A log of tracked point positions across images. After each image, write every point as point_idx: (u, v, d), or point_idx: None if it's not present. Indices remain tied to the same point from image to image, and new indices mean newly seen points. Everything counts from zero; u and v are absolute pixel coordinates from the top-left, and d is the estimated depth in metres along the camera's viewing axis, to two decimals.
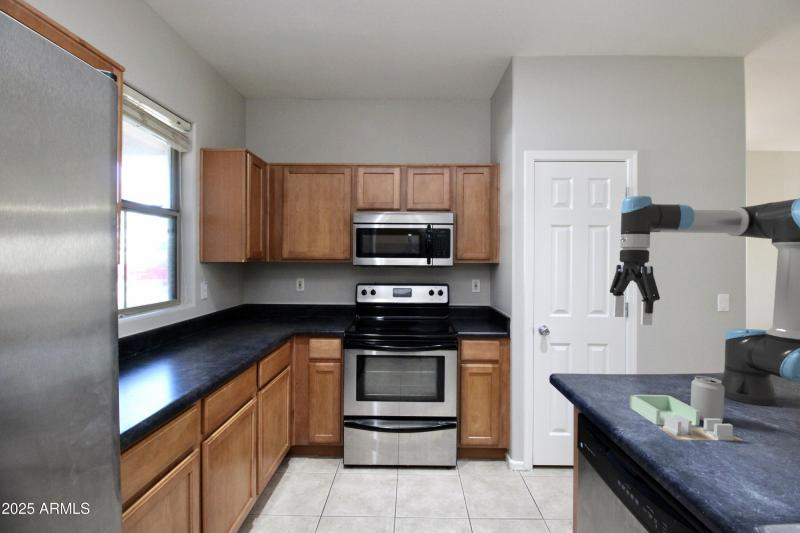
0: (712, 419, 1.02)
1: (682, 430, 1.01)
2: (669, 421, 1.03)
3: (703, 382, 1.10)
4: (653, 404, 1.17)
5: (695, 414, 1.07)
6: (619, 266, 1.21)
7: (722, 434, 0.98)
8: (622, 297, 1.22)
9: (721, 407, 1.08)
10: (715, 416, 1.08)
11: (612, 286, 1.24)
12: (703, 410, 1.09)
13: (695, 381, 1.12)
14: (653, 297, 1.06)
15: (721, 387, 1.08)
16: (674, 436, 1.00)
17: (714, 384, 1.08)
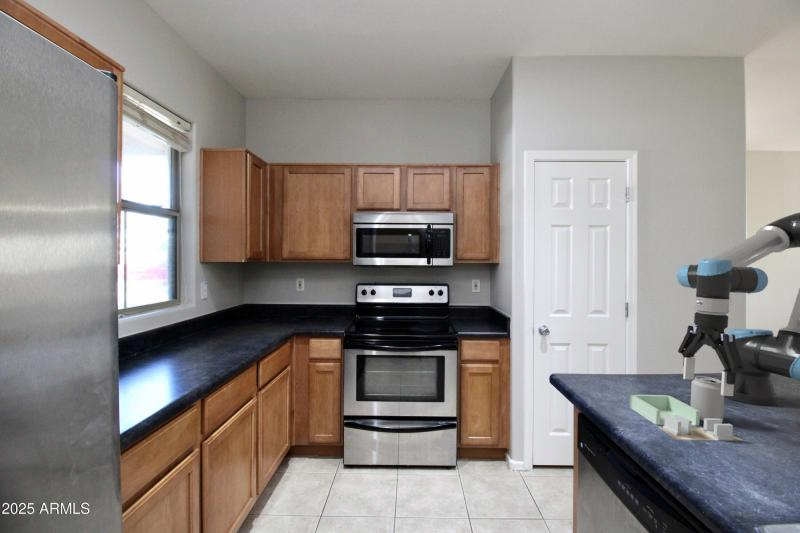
0: (712, 419, 1.02)
1: (682, 430, 1.01)
2: (669, 421, 1.03)
3: (703, 382, 1.10)
4: (653, 404, 1.17)
5: (695, 414, 1.07)
6: (691, 327, 1.16)
7: (722, 434, 0.98)
8: (693, 359, 1.18)
9: (721, 407, 1.08)
10: (715, 416, 1.08)
11: (681, 346, 1.20)
12: (703, 410, 1.09)
13: (695, 381, 1.12)
14: (737, 368, 1.01)
15: None
16: (674, 436, 1.00)
17: (714, 384, 1.08)
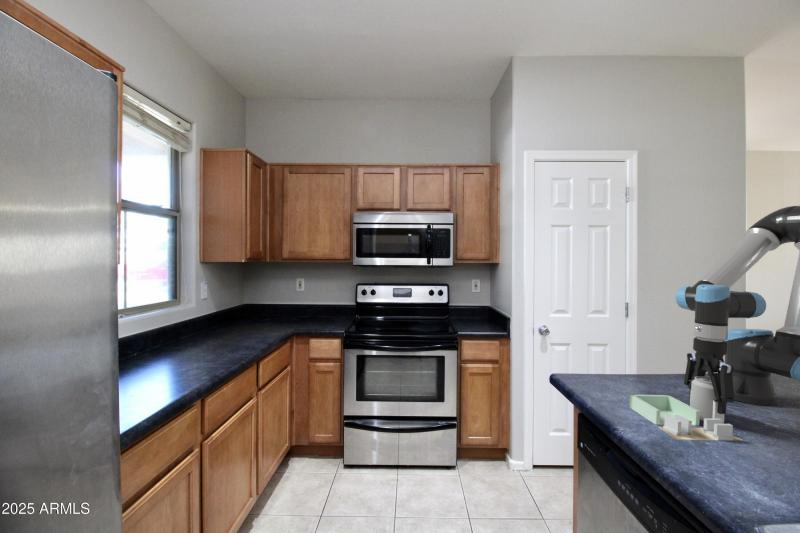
0: (712, 419, 1.02)
1: (682, 430, 1.01)
2: (669, 421, 1.03)
3: (703, 382, 1.10)
4: (653, 404, 1.17)
5: (695, 414, 1.07)
6: (690, 355, 1.17)
7: (722, 434, 0.98)
8: None
9: None
10: None
11: (686, 377, 1.18)
12: (703, 410, 1.09)
13: (695, 381, 1.12)
14: (728, 399, 1.04)
15: None
16: (674, 436, 1.00)
17: None
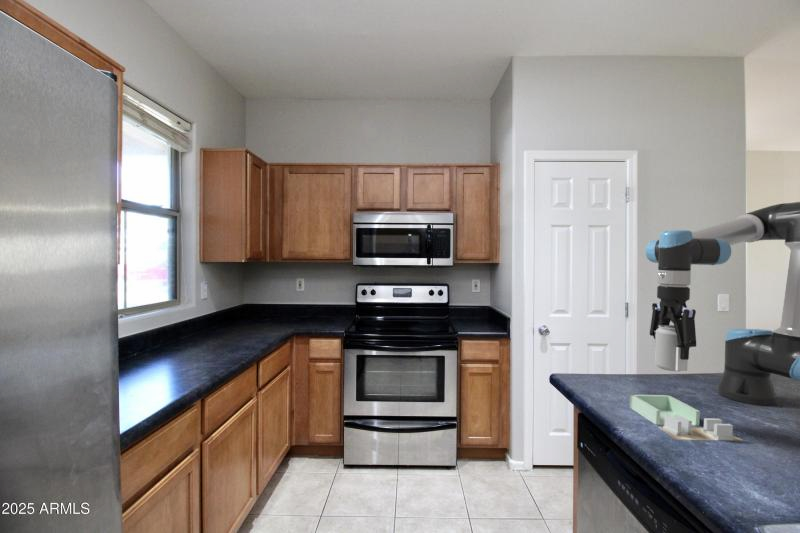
0: (712, 419, 1.02)
1: (682, 430, 1.01)
2: (669, 421, 1.03)
3: (666, 329, 1.08)
4: (653, 404, 1.17)
5: (695, 414, 1.07)
6: (655, 304, 1.15)
7: (722, 434, 0.98)
8: None
9: None
10: None
11: (651, 328, 1.16)
12: (666, 357, 1.07)
13: (659, 329, 1.10)
14: (690, 343, 1.02)
15: None
16: (674, 436, 1.00)
17: None
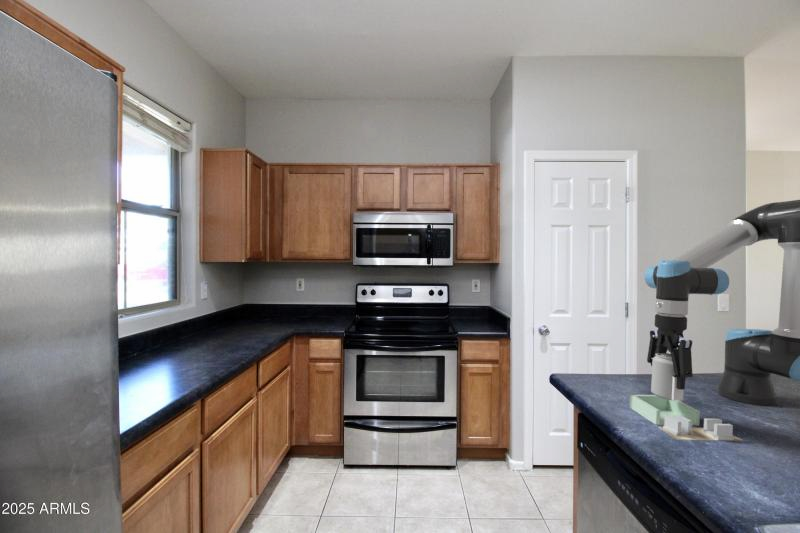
0: (712, 419, 1.02)
1: (682, 430, 1.01)
2: (669, 421, 1.03)
3: (663, 358, 1.09)
4: (653, 404, 1.17)
5: (695, 414, 1.07)
6: (653, 332, 1.16)
7: (722, 434, 0.98)
8: None
9: None
10: None
11: (649, 355, 1.17)
12: (662, 386, 1.08)
13: (656, 357, 1.11)
14: (686, 374, 1.03)
15: None
16: (674, 436, 1.00)
17: None
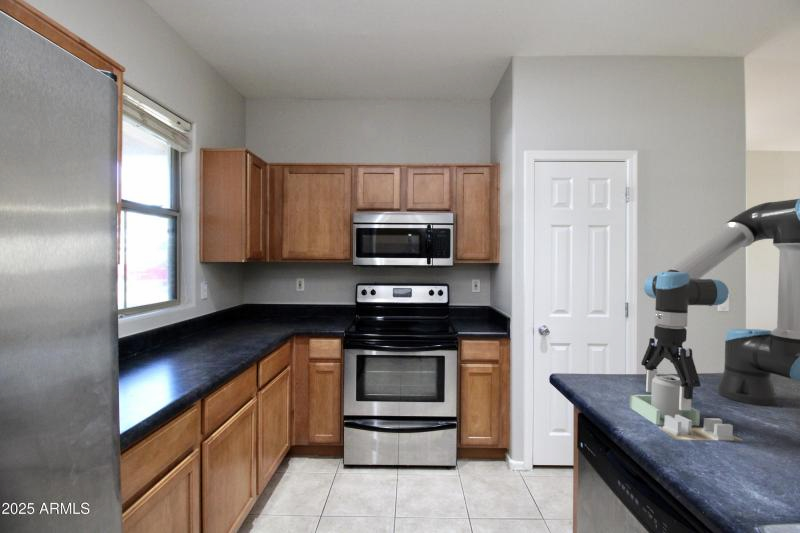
0: (712, 419, 1.02)
1: (682, 430, 1.01)
2: (669, 421, 1.03)
3: (662, 380, 1.09)
4: None
5: (695, 414, 1.07)
6: (652, 340, 1.16)
7: (722, 434, 0.98)
8: (655, 372, 1.17)
9: None
10: (674, 414, 1.07)
11: (644, 359, 1.19)
12: (662, 408, 1.08)
13: (655, 379, 1.11)
14: (694, 383, 1.00)
15: None
16: (674, 436, 1.00)
17: (673, 382, 1.08)
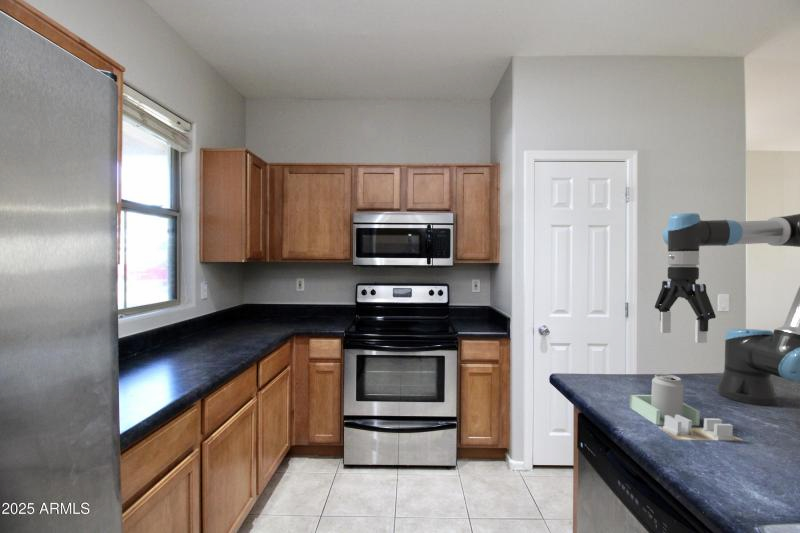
0: (712, 419, 1.02)
1: (682, 430, 1.01)
2: (669, 421, 1.03)
3: (662, 380, 1.09)
4: None
5: (695, 414, 1.07)
6: (665, 282, 1.21)
7: (722, 434, 0.98)
8: (669, 313, 1.22)
9: (680, 405, 1.07)
10: (674, 414, 1.07)
11: (657, 302, 1.24)
12: (662, 408, 1.08)
13: (655, 379, 1.11)
14: (709, 315, 1.06)
15: (680, 385, 1.07)
16: (674, 436, 1.00)
17: (673, 382, 1.08)
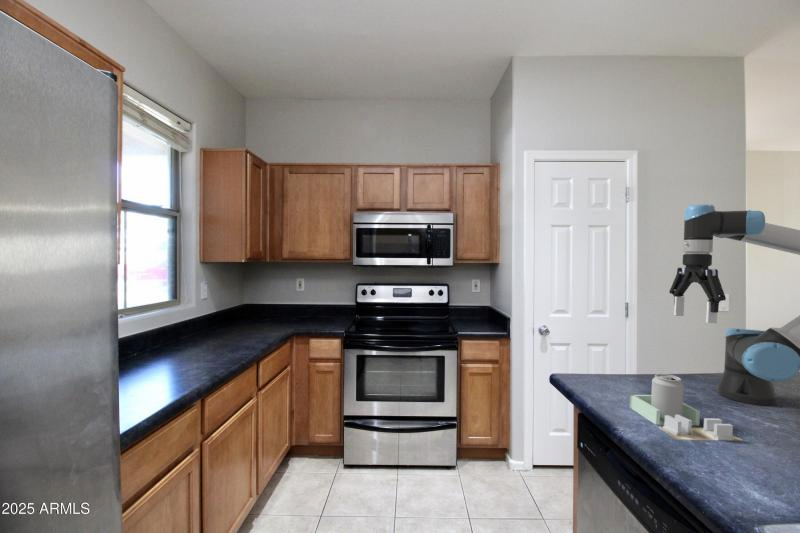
0: (712, 419, 1.02)
1: (682, 430, 1.01)
2: (669, 421, 1.03)
3: (662, 380, 1.09)
4: None
5: (695, 414, 1.07)
6: (680, 269, 1.31)
7: (722, 434, 0.98)
8: (682, 297, 1.32)
9: (680, 405, 1.07)
10: (674, 414, 1.07)
11: (672, 287, 1.34)
12: (662, 408, 1.08)
13: (655, 379, 1.11)
14: (720, 297, 1.16)
15: (680, 385, 1.07)
16: (674, 436, 1.00)
17: (673, 382, 1.08)
